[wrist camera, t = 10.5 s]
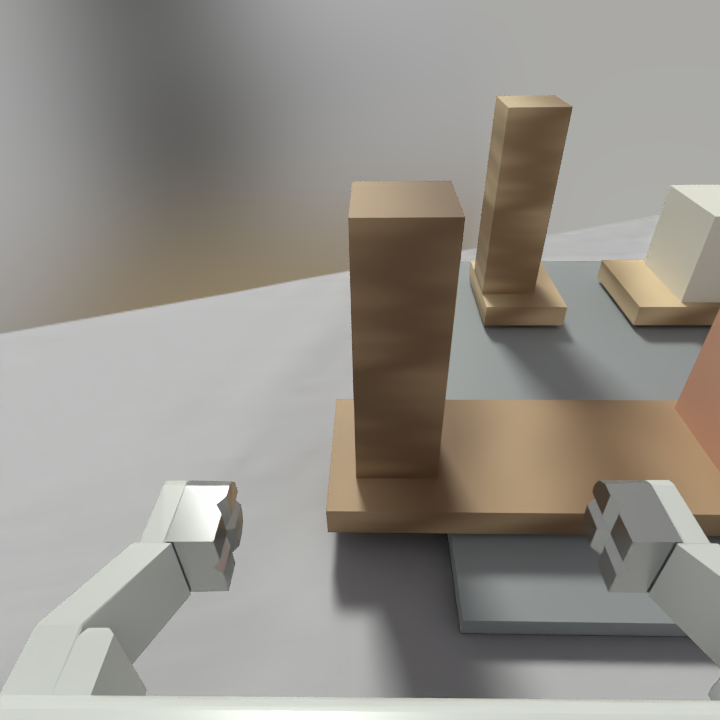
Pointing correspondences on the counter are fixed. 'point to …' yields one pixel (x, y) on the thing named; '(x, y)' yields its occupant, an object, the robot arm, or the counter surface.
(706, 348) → the terracotta block
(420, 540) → the counter surface
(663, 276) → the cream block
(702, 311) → the broken oak strip
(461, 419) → the wooden l-shaped stand
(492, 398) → the slate board
